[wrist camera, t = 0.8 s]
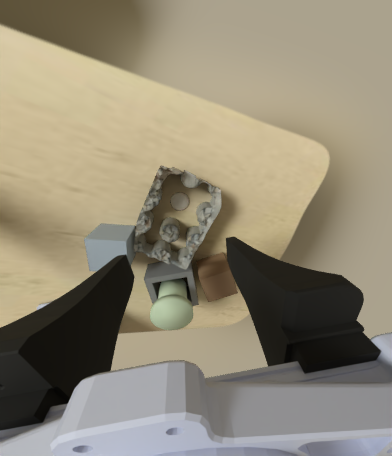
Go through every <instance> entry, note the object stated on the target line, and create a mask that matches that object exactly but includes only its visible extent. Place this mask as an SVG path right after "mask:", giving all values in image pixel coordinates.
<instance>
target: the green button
mask: <svg viewBox="0 0 392 456" xmlns="http://www.w3.org/2000/svg"><path fill="white" fill-rule="evenodd" d="M192 318H193V306H192V304H191V302H190V301H189V300H188V299H187V287H186V283H185V281H184V280H183V279H181V278H178V279H172V280H167V281H162V282H161V284H160V289H159V296H158V299H157V300H156V301H155V302H154V303H153V305H152V307H151V313H150V319H151V321H152V323H153V324H154V325H155V326H157V327H158V328H161V329H164V330H177V329H180V328H183V327H185V326H186V325H188V324H189V323H190V322H191V320H192Z"/></svg>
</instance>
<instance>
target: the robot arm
mask: <svg viewBox="0 0 392 456" xmlns="http://www.w3.org/2000/svg"><path fill="white" fill-rule="evenodd" d="M226 246H227V261H228V264H229V267H230V270H231V273H232V275H233V277H234V279H235V281H236V283H237V285H238V287H239V289H240V291H241V293H242V295H243V297H244V300H245V302H246V304H247V307H248V309H249V312H250V315H251V317H252V320H253V323H254V326H255V328H256V331H257V334H258V337H259V340H260V343H261V346H262V348H263V352H264V355H265V358H266V361H267V364H268V367H263V368H258V369H252V370H247V371H242V372H236V373H231V374H225V375H220V376H215V377H209V378H204V374H203V372H202V371H201V370H200V368H199V367H198V366H196V364H193V363H190V362H187V361H184V360H179V361H178V360H177V361H176V360H175V361H164V362H159V363H153V364H147V365H142V366H136V367H131V368H126V369H120V370H115V371H110V370H111V365H112V359H113V355H114V350H115V345H116V341H117V336H118V332H119V329H120V324H121V321H122V318H123V315H124V312H125V309H126V306H127V303H128V300H129V297H130V295H131V291H132V288H133V282H134V274H133V271H132V269H131V266H130V263H129V261H128V258H127V255H126V254H125V255H119V256H116V257H115V258H113V259H112V260H111V261H109V262H108V263H107V264H106V265H104V266H103V267H102V268H101V269H99V270H98V271H97V272H96V273H94V274H93V275H92V276H90V277H89V278H88V279H86V280H85V281H84V282H82V283H81V284H80V285H78V286H77V287H75V288H74V289H72V290H71V291H69V292H68V293H66V294H65V295H63V296H61V297H60V298H58V299H56V300H54V301H53V302H51V303H45V304H40V305H39V306H38V307H37V311H35V312H33V313H31V314H29V315H27V316H25V317H23V318H21V319H19V320H17V321H15V322H12V323H10V324H8V325H6V326H4V327H1V328H0V456H392V332H391V333H385V334H380V335H377V336H374V337H372V338H371V339H369V338H368V337H367V336H366V335H365V334H364V333H363V331H364V328H363V326H362V325H361V324H360V323H359V322H358V321H356V320H357V317H358V315H359V312H360V310H361V308H362V305H363V301H364V298H363V293H362V292H361V290H360V289H359V288H357V287H356V286H355V285H353V284H352V283H351V282H350V281H348V280H347V279H346V278H344V277H343V276H342V275H337V274H331V273H325V272H319V271H315V270H311V269H306V268H302V267H299V266H295V265H292V264H289V263H286V262H283V261H280V260H278V259H275V258H273V257H270V256H268V255H266V254H264V253H262V252H260V251H258V250H256V249H254V248H252V247H251V246H249V245H247V244H246V243H244V242H242V241H241V240H239V239H237V238H236V237H230V238H226Z"/></svg>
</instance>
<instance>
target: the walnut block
mask: <svg viewBox="0 0 392 456" xmlns="http://www.w3.org/2000/svg"><path fill="white" fill-rule="evenodd" d="M196 262H197V269H198V275H199V281H200V283H201V285H202V288H203V290H204V293H205V295H206V297H207V300H208V302H211V301H214V300H217V299H220V298H223V297H227V296H230V295H233V294H236V293H238V292H237V289H236V285H235V282H234V279H233V275H232V273H231V270H230V267H229V265H228V262H227V260H226V258H225V255H224V253H223V252H222V253H219V254H216V255H213V256H210V257H207V258H204V259H201V260H198V261H196Z"/></svg>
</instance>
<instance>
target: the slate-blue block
mask: <svg viewBox="0 0 392 456" xmlns="http://www.w3.org/2000/svg"><path fill="white" fill-rule="evenodd" d="M84 241H85V247H86V252H87V258H88V264H89V270H90V271H98V270H99V269H101V268H102V267H103V266H104V265H106V264H107V263H108V262H109V261H111V260H112V259H113V258H115V257H116V256H119V255H125V254H126V255H127V258H128V261H129V263H130V266H131V264H132V261H133V259H134V257H135V254H136V252H135V251H134V242H135V226H130V225H115V224H100V225H99V226H98V227H97V228H95V229H94V230H93V231H92V232H91V233H90V234H89V235H88V236H87V237H86V238H85V239H84Z"/></svg>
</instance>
